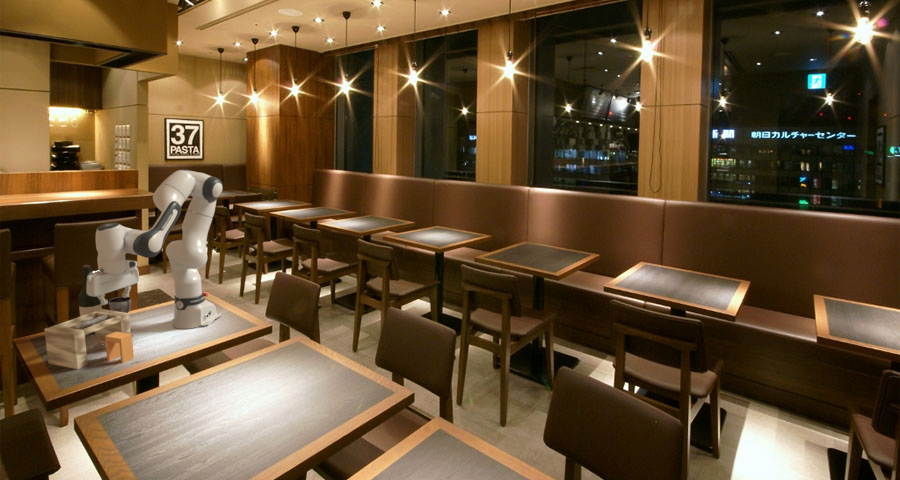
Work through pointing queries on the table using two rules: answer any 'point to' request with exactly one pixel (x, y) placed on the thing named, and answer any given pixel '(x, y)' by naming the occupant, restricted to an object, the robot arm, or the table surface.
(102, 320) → the shelf
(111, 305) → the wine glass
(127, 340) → the upright wooden block
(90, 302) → the wine bottle
